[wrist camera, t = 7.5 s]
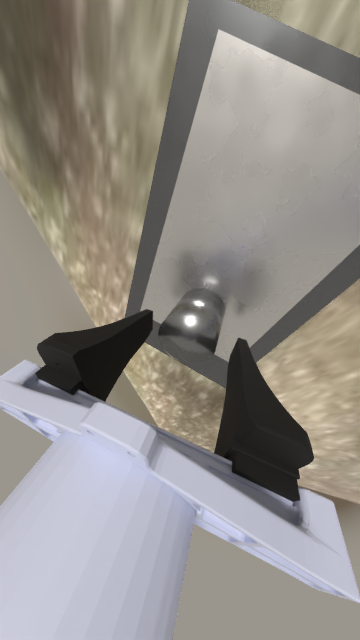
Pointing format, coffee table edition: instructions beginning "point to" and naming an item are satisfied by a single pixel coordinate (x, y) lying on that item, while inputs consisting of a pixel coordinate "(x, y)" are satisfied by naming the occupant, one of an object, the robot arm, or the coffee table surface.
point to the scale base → (192, 63)
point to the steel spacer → (193, 326)
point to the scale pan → (260, 191)
